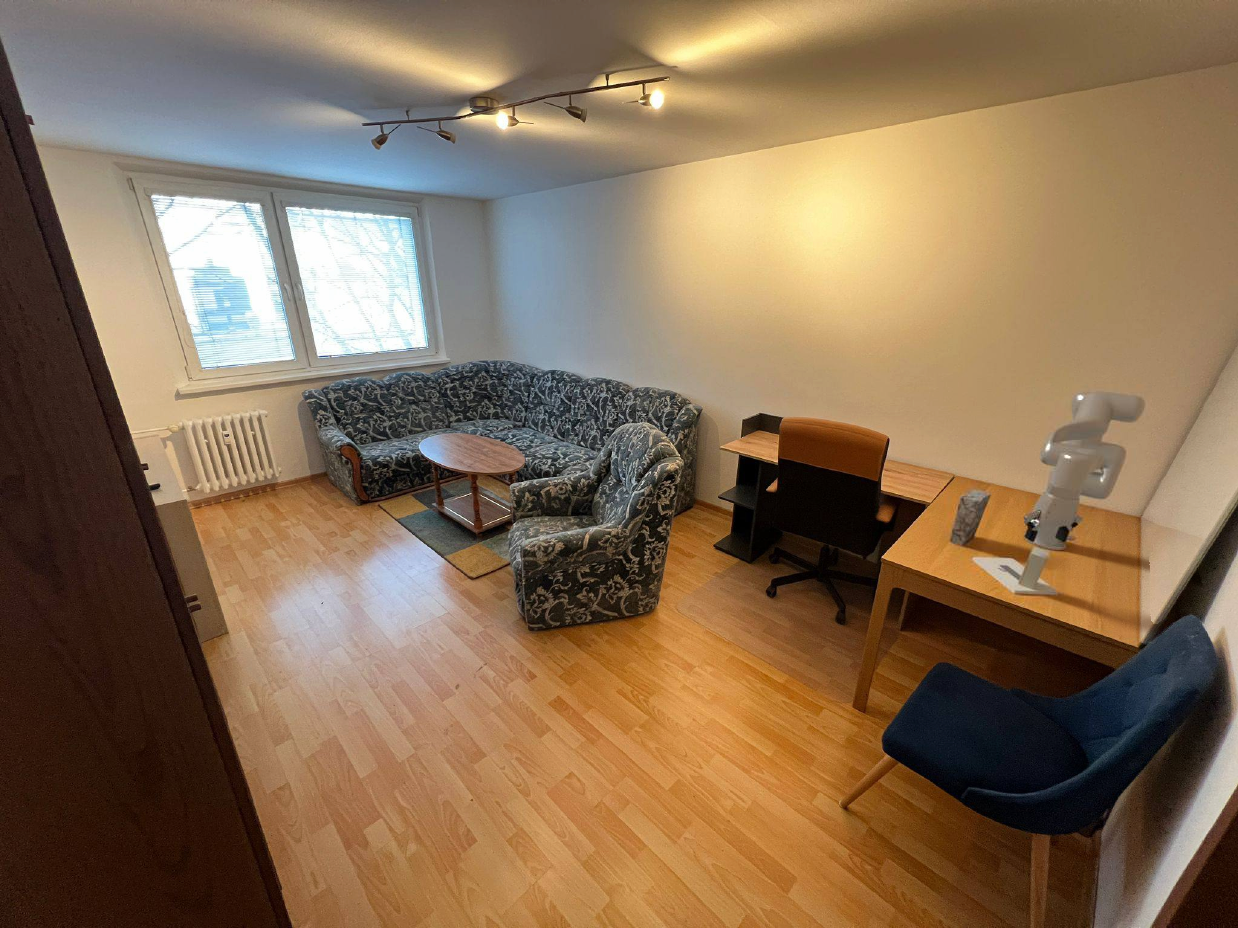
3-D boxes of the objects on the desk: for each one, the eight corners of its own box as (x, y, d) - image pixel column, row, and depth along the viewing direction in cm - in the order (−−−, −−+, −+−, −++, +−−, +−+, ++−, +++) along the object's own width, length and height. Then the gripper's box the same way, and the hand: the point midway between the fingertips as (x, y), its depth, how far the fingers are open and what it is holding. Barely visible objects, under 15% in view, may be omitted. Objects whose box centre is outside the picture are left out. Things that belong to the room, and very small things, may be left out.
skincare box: (1020, 576, 161) (1033, 545, 156) (1037, 582, 158) (1050, 551, 153) (1017, 584, 157) (1029, 552, 152) (1034, 590, 154) (1047, 558, 149)
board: (1011, 561, 172) (1012, 558, 172) (1057, 594, 154) (1058, 591, 153) (972, 559, 172) (973, 556, 172) (1013, 593, 154) (1015, 590, 153)
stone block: (967, 548, 180) (983, 501, 173) (946, 541, 185) (961, 495, 178) (977, 537, 188) (992, 491, 181) (956, 531, 193) (970, 486, 186)
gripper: (1081, 486, 148) (1062, 534, 155) (1025, 486, 149) (1008, 533, 155) (1103, 497, 141) (1082, 546, 148) (1044, 496, 142) (1026, 545, 148)
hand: (1044, 539), depth 151 cm, fingers open, 9 cm apart
